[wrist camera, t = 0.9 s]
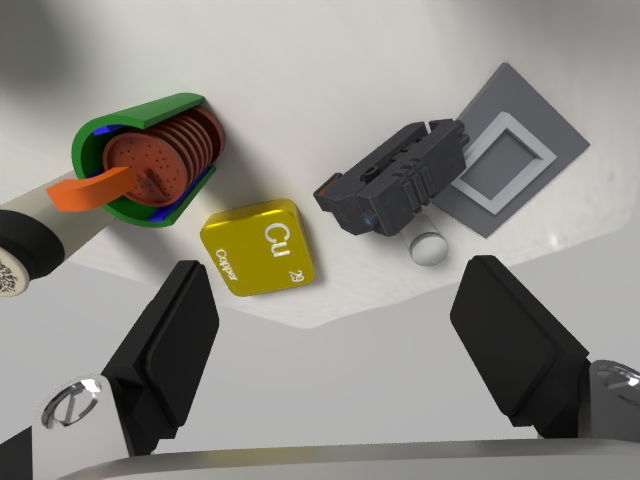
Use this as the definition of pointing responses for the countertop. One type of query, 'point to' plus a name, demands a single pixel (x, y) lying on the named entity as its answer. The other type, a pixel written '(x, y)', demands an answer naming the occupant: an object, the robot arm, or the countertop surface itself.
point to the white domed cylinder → (424, 241)
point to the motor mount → (507, 152)
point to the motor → (143, 161)
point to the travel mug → (41, 236)
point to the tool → (396, 178)
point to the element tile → (259, 247)
